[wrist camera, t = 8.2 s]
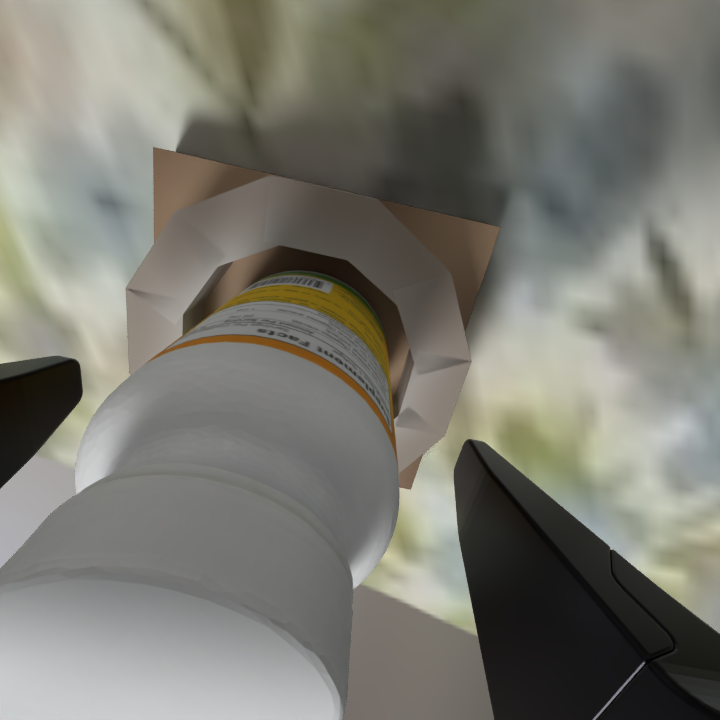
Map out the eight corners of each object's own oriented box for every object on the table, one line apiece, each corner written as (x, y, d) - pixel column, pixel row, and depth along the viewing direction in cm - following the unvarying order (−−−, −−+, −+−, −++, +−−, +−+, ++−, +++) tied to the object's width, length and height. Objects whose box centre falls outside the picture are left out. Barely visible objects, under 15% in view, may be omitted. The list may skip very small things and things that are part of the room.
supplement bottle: (310, 442, 14) (204, 854, 5) (194, 344, 13) (-211, 687, 4) (421, 352, 13) (529, 729, 4) (302, 228, 11) (25, 366, 2)
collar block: (489, 224, 12) (518, 232, 10) (408, 469, 16) (413, 519, 14) (174, 151, 12) (119, 140, 9) (171, 422, 16) (132, 465, 13)
